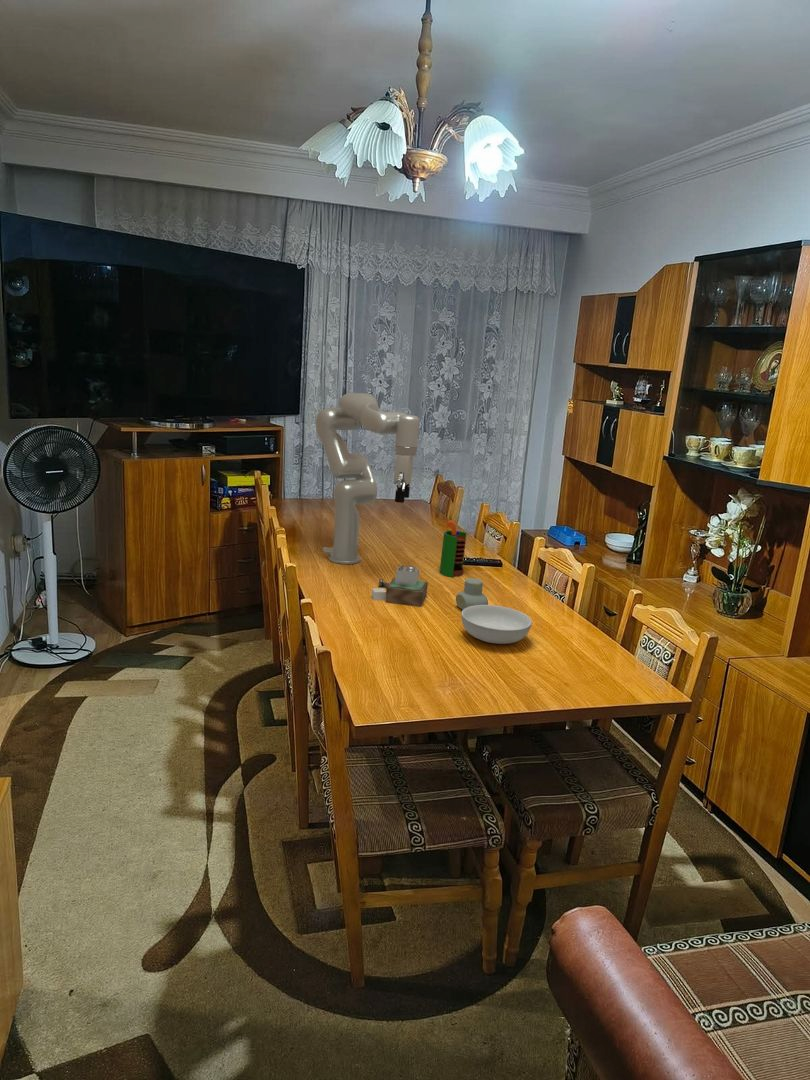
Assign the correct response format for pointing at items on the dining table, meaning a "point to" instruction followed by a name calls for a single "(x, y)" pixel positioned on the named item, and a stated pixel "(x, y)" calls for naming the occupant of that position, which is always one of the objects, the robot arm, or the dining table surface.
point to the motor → (452, 551)
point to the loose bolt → (383, 583)
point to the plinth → (407, 593)
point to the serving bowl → (495, 623)
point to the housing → (407, 576)
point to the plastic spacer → (378, 594)
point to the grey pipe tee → (471, 594)
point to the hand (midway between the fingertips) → (402, 499)
